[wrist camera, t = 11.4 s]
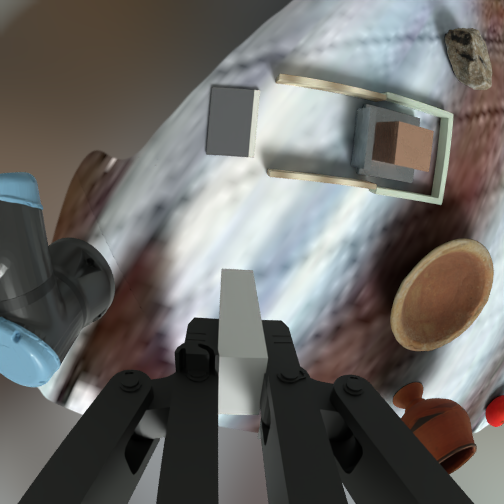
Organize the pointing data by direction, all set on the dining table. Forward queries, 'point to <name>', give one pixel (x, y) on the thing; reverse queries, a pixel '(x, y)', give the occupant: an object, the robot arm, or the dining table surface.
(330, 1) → the dining table surface
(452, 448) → the goblet
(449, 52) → the stone
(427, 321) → the bowl
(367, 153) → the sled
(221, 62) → the dining table surface
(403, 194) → the rails
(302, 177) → the channel
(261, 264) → the dining table surface
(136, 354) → the dining table surface
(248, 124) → the mat
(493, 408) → the tomato
